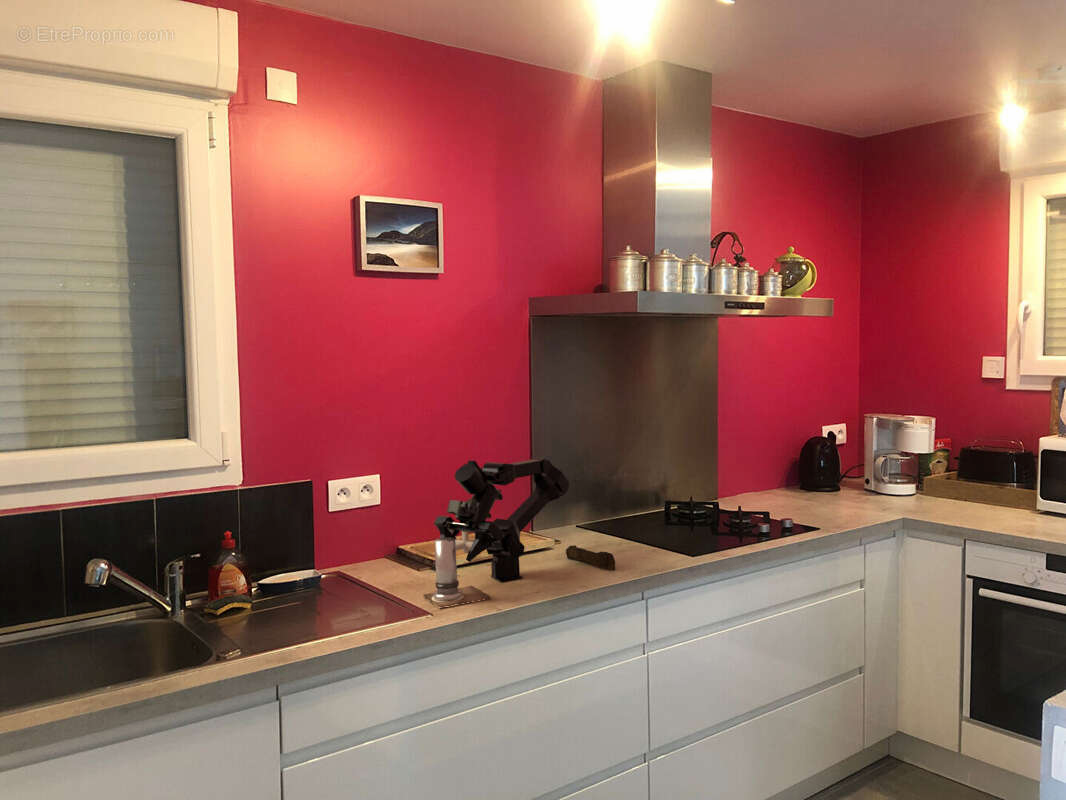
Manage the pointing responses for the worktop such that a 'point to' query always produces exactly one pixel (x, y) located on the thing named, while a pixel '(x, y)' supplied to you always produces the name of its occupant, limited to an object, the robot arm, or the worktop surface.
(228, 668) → the worktop surface
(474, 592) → the walnut board
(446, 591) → the silver flared cylinder
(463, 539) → the pipe connector
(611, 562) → the hand tool
